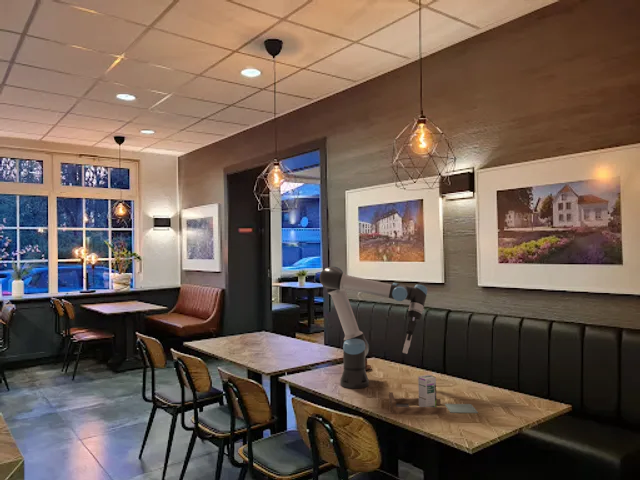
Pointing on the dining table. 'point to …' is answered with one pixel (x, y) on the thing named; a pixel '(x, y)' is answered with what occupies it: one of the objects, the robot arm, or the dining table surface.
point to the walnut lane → (403, 408)
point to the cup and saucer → (367, 365)
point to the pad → (461, 408)
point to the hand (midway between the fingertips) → (405, 350)
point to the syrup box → (427, 391)
